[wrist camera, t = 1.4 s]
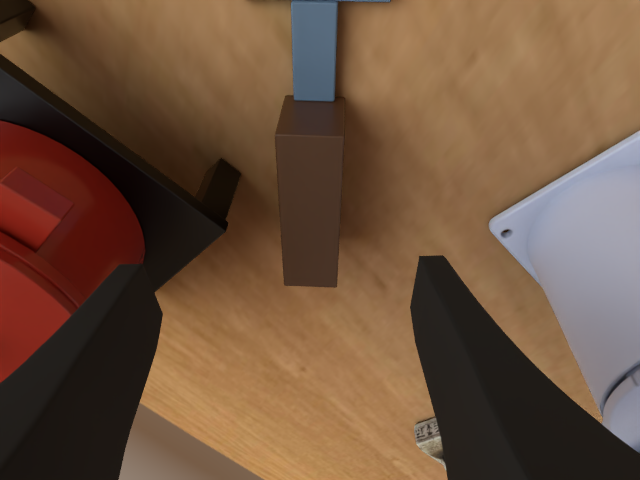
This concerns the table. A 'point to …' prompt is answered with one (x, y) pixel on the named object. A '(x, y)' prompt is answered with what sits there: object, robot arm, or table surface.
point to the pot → (81, 208)
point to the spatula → (311, 149)
